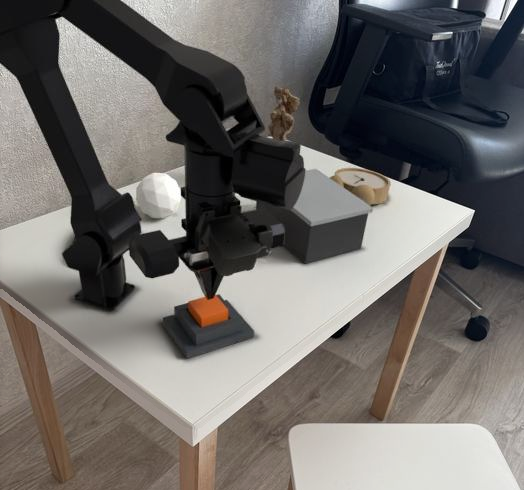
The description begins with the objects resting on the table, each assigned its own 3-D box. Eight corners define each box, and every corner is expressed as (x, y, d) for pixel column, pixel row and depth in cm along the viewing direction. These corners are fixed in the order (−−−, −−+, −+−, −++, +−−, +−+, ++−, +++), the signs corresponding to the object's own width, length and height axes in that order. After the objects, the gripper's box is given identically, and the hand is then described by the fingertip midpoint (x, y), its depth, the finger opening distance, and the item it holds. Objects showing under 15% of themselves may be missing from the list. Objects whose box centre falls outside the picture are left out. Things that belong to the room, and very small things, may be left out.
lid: (315, 172, 105) (316, 168, 104) (372, 212, 94) (373, 207, 94) (257, 183, 100) (257, 179, 99) (310, 226, 89) (311, 222, 89)
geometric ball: (170, 231, 104) (183, 210, 97) (127, 217, 101) (137, 194, 94) (176, 196, 106) (190, 173, 99) (134, 181, 103) (146, 157, 96)
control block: (187, 359, 74) (186, 341, 72) (162, 324, 79) (161, 307, 77) (253, 337, 78) (255, 320, 76) (226, 306, 83) (227, 289, 81)
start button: (201, 328, 75) (201, 317, 74) (188, 311, 77) (188, 301, 76) (228, 320, 77) (228, 309, 75) (214, 304, 79) (214, 293, 78)
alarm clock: (400, 179, 114) (370, 191, 103) (393, 203, 117) (362, 217, 106) (351, 163, 119) (316, 173, 108) (345, 186, 122) (311, 198, 110)
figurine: (255, 158, 125) (259, 85, 115) (273, 152, 128) (280, 81, 119) (279, 169, 121) (286, 95, 111) (298, 163, 125) (306, 90, 115)
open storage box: (307, 207, 109) (311, 173, 104) (361, 249, 98) (368, 213, 94) (254, 219, 104) (257, 183, 100) (305, 264, 94) (310, 226, 89)
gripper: (161, 235, 56) (167, 354, 66) (317, 201, 64) (301, 313, 74) (121, 188, 63) (132, 303, 73) (266, 163, 71) (258, 269, 81)
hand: (209, 297), depth 75 cm, fingers closed
